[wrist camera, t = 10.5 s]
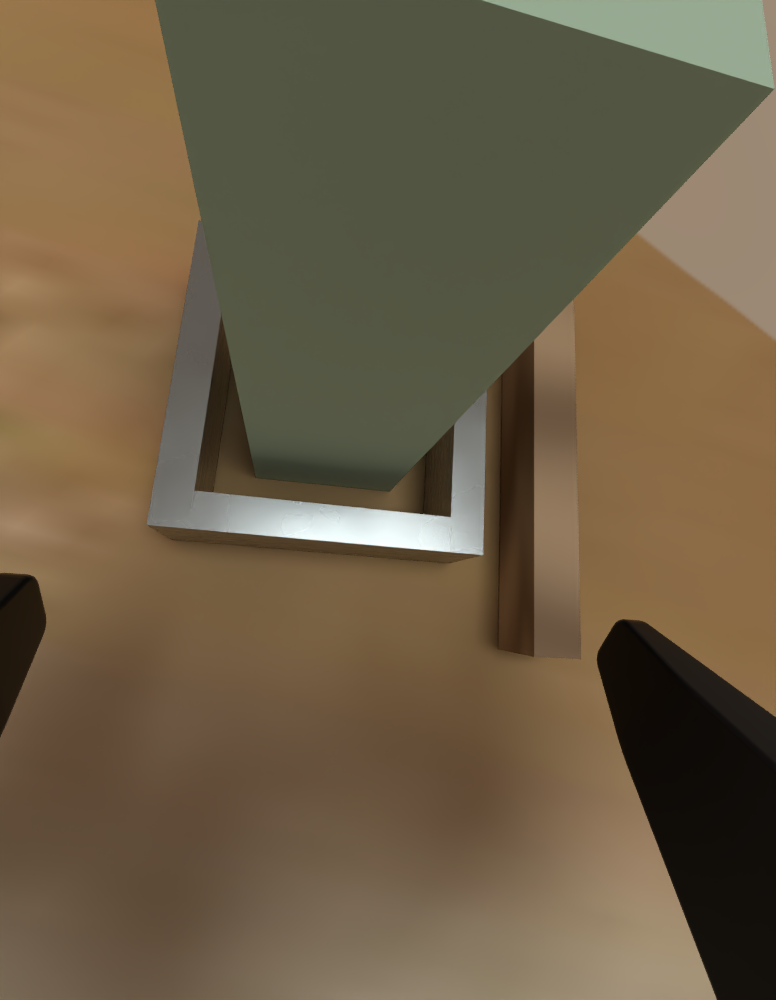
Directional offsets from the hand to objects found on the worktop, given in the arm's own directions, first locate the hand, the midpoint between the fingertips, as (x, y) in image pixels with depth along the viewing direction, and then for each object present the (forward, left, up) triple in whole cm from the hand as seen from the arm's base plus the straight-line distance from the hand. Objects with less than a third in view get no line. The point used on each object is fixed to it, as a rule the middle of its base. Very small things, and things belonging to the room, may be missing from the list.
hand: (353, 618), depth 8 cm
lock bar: (+6, 0, -8) cm, 11 cm away
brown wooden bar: (+6, -7, -8) cm, 12 cm away
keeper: (+6, 0, -8) cm, 10 cm away
